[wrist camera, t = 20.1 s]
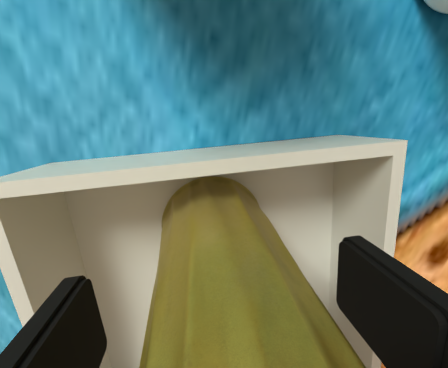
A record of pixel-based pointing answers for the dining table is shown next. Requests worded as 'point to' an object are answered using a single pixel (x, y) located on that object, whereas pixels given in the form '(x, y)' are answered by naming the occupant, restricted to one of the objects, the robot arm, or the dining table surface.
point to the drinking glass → (438, 5)
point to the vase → (233, 290)
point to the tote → (155, 205)
